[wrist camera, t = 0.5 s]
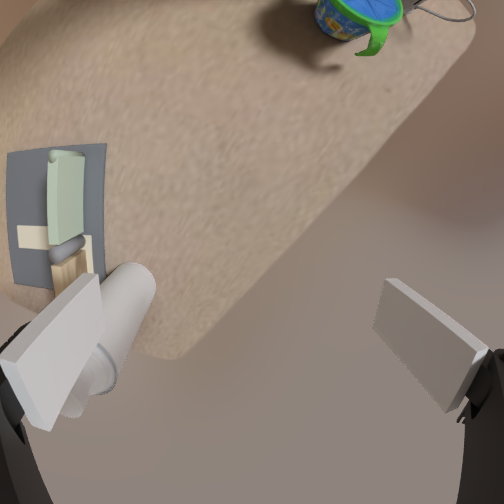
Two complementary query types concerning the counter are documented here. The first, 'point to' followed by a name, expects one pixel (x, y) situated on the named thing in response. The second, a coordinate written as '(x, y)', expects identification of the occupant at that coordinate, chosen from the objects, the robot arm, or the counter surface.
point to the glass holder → (410, 3)
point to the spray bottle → (113, 333)
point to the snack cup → (359, 20)
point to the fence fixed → (68, 270)
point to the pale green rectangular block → (65, 203)
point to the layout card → (35, 213)
